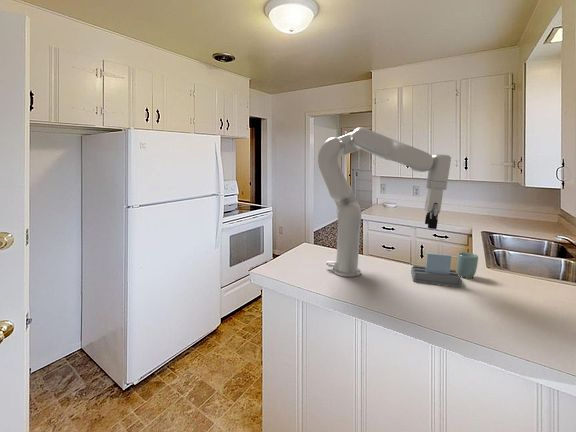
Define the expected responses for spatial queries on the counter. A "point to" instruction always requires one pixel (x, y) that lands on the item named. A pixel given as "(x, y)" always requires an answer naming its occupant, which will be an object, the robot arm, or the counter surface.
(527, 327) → the counter surface
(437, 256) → the light blue upright panel
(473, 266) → the cup
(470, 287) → the counter surface
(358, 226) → the robot arm
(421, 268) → the rack
